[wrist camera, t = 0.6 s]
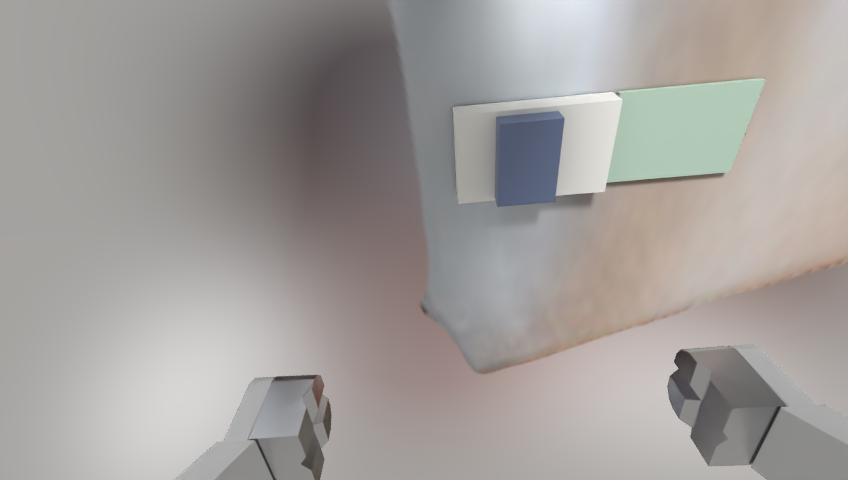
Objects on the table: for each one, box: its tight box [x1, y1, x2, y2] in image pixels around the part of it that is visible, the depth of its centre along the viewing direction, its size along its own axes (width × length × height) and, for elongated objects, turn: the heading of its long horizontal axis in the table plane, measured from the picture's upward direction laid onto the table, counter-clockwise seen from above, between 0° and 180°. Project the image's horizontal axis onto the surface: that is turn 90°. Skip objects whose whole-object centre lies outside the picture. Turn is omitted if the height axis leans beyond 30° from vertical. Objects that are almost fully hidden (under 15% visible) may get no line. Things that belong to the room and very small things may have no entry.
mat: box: [607, 78, 765, 183], centre depth 44 cm, size 10×14×1 cm
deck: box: [453, 92, 623, 204], centre depth 44 cm, size 10×16×2 cm, turn 95°
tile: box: [495, 111, 565, 207], centre depth 42 cm, size 9×6×2 cm, turn 5°
